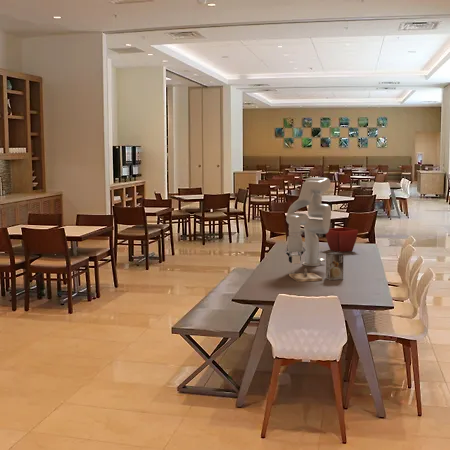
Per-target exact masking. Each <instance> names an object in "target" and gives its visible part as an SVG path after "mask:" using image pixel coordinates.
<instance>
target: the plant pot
mask: <svg viewBox="0 0 450 450" xmlns="http://www.w3.org/2000/svg"><path fill="white" fill-rule="evenodd" d="M358 233H359V229H355V228H349V227H344V226H342V227H341V226H340V227H329V231H328V233H326V234H325V239H326V242H327V245H328V248H329V250H330V251H332V250H333V251H332V252H335V253H336V252H339V253H344V252H345V253H346V252H352V251H353V250H354V248H355V245H356V241H357V238H358Z"/></svg>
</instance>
